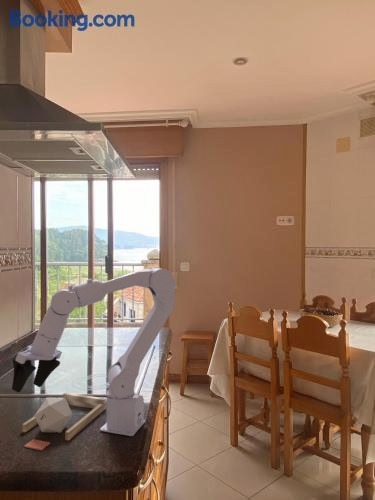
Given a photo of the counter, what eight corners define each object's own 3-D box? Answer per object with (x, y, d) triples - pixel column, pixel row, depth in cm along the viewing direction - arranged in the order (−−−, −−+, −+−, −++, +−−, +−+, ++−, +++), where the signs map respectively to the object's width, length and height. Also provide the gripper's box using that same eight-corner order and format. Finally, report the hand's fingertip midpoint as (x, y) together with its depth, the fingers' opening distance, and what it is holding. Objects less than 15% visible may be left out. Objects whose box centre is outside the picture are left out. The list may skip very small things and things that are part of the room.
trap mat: (50, 443, 86) (50, 442, 86) (41, 450, 84) (41, 449, 84) (33, 440, 88) (33, 439, 88) (24, 446, 85) (24, 445, 85)
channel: (105, 408, 105) (105, 398, 105) (68, 440, 88) (68, 428, 88) (65, 402, 109) (65, 392, 109) (22, 431, 92) (22, 420, 92)
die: (36, 427, 96) (24, 409, 90) (62, 403, 101) (53, 384, 95) (54, 446, 91) (43, 429, 86) (80, 420, 97) (72, 402, 91)
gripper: (54, 329, 97) (34, 377, 96) (16, 329, 83) (-8, 385, 82) (74, 339, 95) (54, 388, 93) (39, 341, 81) (15, 398, 80)
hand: (26, 387), depth 87 cm, fingers open, 7 cm apart
